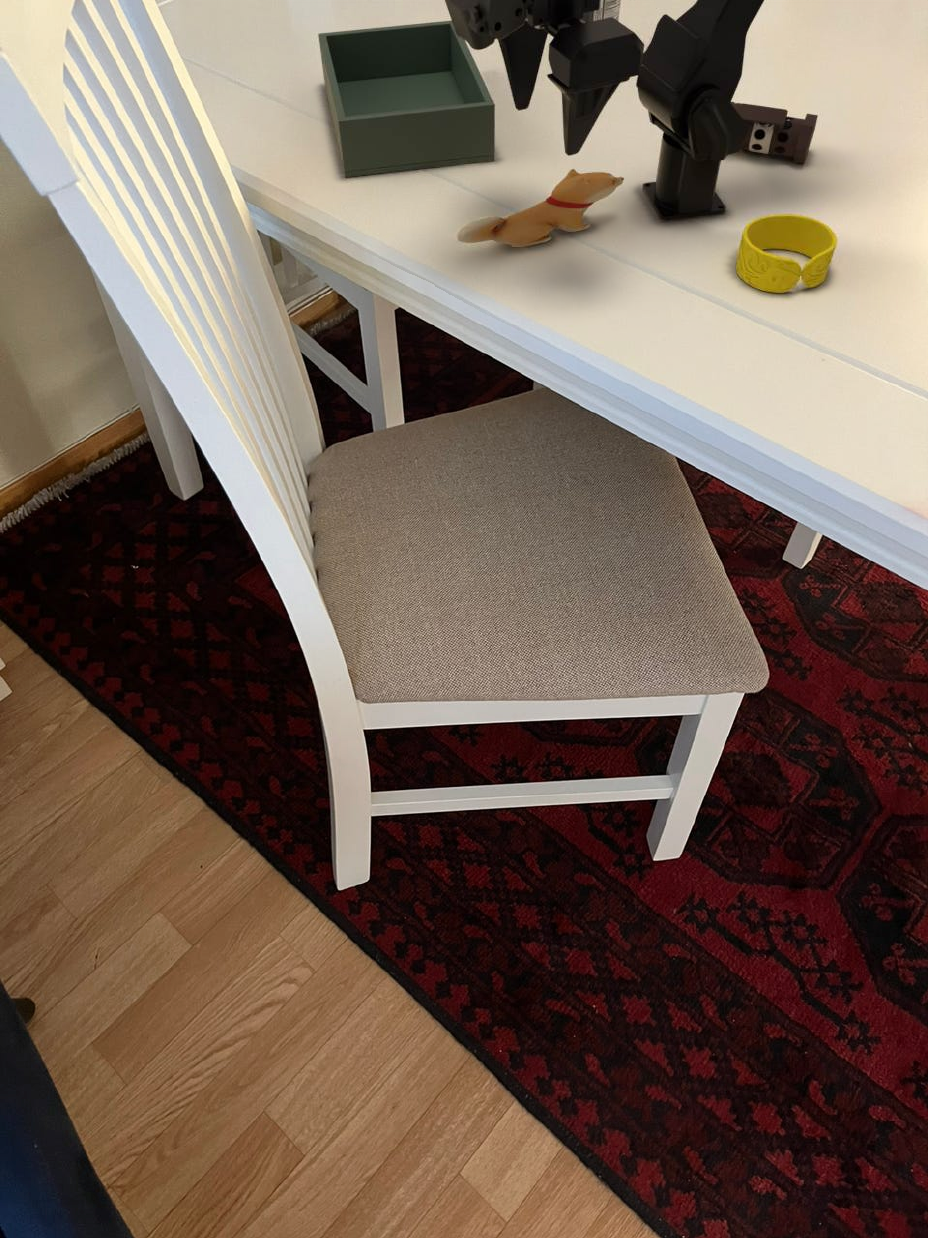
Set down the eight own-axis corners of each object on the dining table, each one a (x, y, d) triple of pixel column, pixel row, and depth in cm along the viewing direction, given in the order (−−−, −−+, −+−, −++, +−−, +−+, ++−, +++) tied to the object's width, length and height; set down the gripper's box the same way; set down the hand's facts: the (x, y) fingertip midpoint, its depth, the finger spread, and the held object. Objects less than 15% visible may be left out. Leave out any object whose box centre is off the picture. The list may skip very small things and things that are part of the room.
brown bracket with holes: (801, 173, 96) (807, 143, 91) (692, 155, 99) (692, 124, 94) (813, 134, 97) (820, 102, 91) (704, 117, 99) (705, 85, 94)
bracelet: (721, 255, 85) (728, 221, 83) (800, 241, 87) (809, 206, 84) (758, 299, 81) (767, 264, 78) (841, 283, 82) (852, 248, 80)
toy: (629, 220, 89) (635, 168, 85) (465, 265, 85) (464, 212, 81) (611, 205, 91) (616, 153, 87) (450, 248, 87) (448, 196, 83)
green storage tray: (494, 160, 97) (494, 104, 93) (345, 177, 96) (338, 120, 91) (456, 72, 110) (455, 19, 106) (324, 86, 109) (318, 33, 104)
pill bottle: (556, 52, 113) (562, -59, 104) (601, 44, 114) (610, -67, 105) (577, 72, 110) (585, -41, 101) (623, 63, 111) (635, -49, 102)
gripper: (404, -108, 71) (417, 106, 84) (514, -28, 61) (510, 203, 73) (534, -130, 74) (528, 80, 86) (660, -57, 64) (633, 170, 76)
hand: (546, 130), depth 80 cm, fingers open, 9 cm apart
